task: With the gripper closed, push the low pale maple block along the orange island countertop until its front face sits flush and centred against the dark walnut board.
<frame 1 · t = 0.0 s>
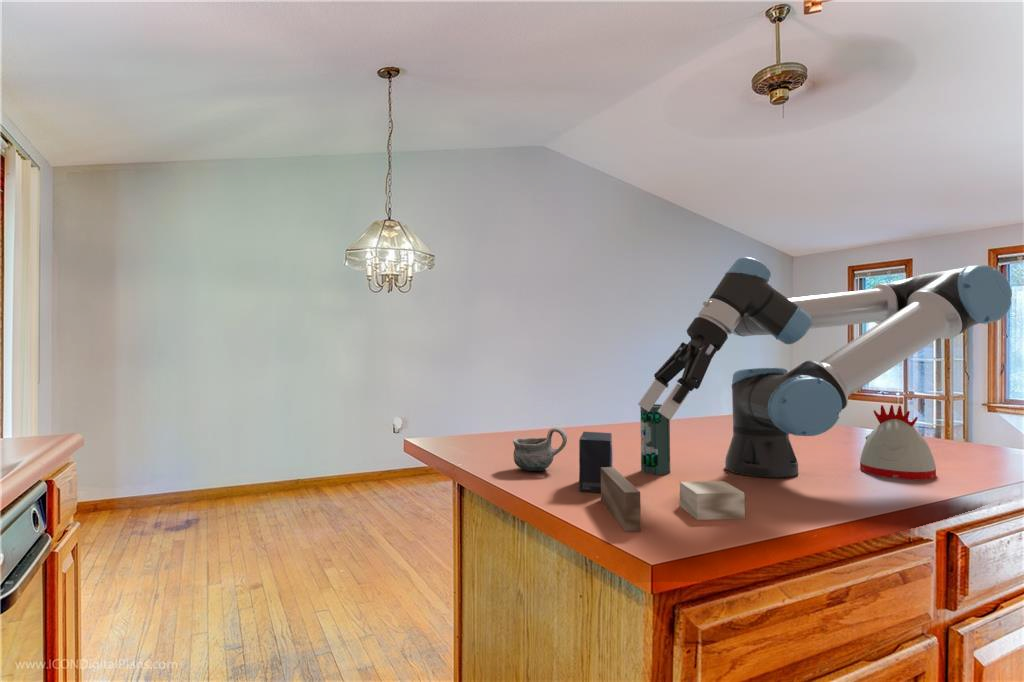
hand: (652, 411, 112), 15 cm above the countertop, tool tilted 35°, fingers open, 13 cm apart
mug: (539, 471, 129), on the countertop
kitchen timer: (896, 473, 124), on the countertop
maple block: (711, 513, 95), on the countertop
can: (655, 472, 126), on the countertop
walnut board: (618, 513, 95), on the countertop
small box: (596, 487, 114), on the countertop
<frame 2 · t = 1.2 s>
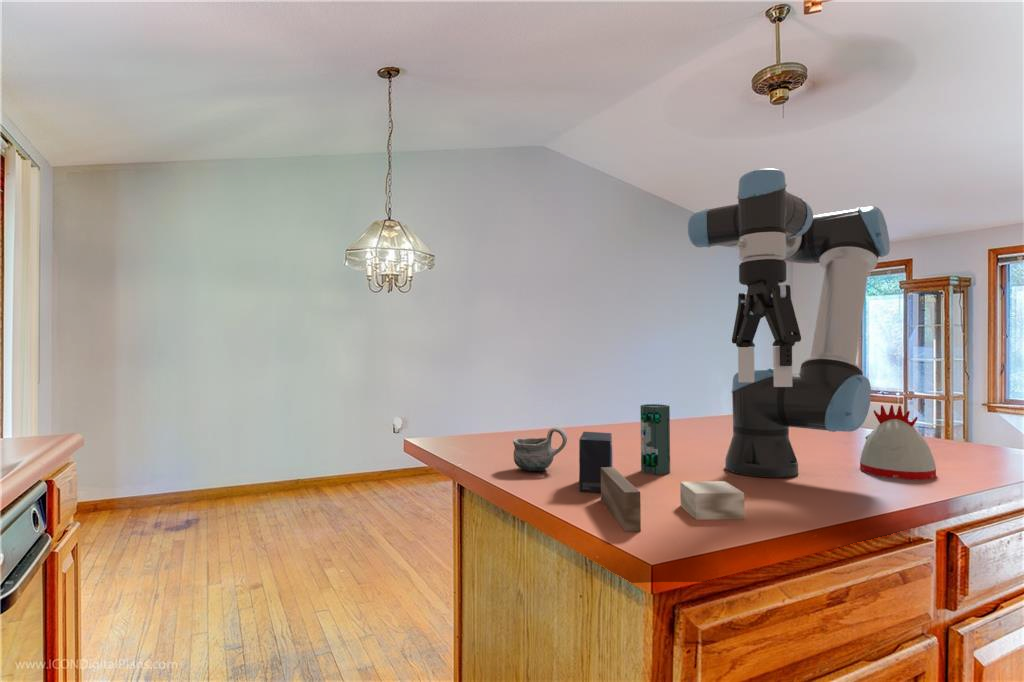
hand: (763, 384, 97), 22 cm above the countertop, tool pointing down, fingers open, 12 cm apart
nothing on the countertop moved.
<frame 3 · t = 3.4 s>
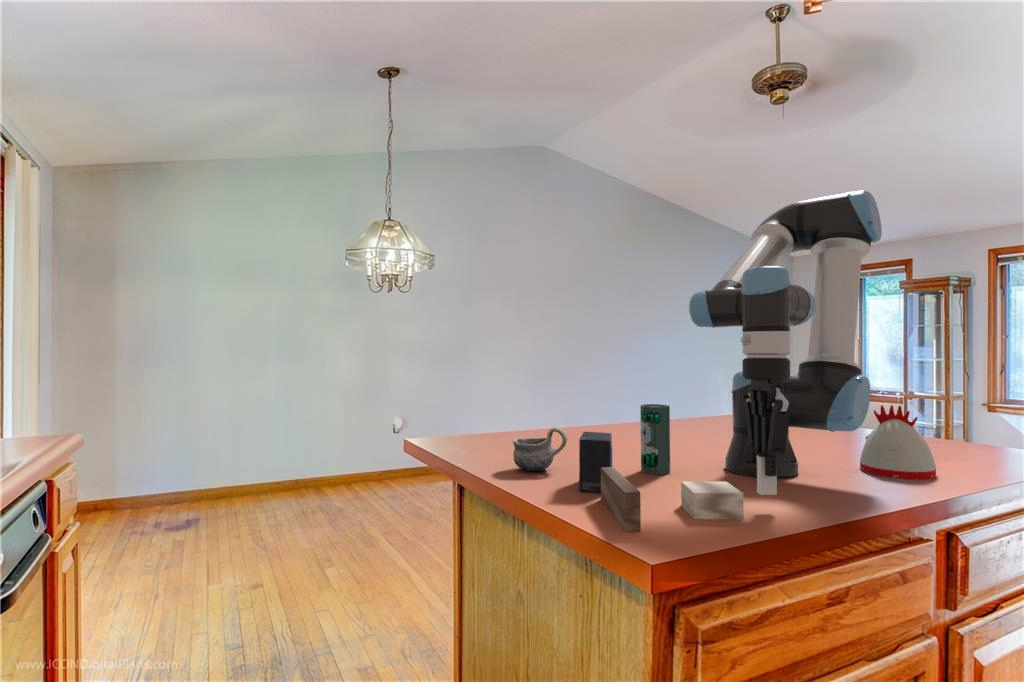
hand: (766, 493, 96), 3 cm above the countertop, tool pointing down, fingers closed
nothing on the countertop moved.
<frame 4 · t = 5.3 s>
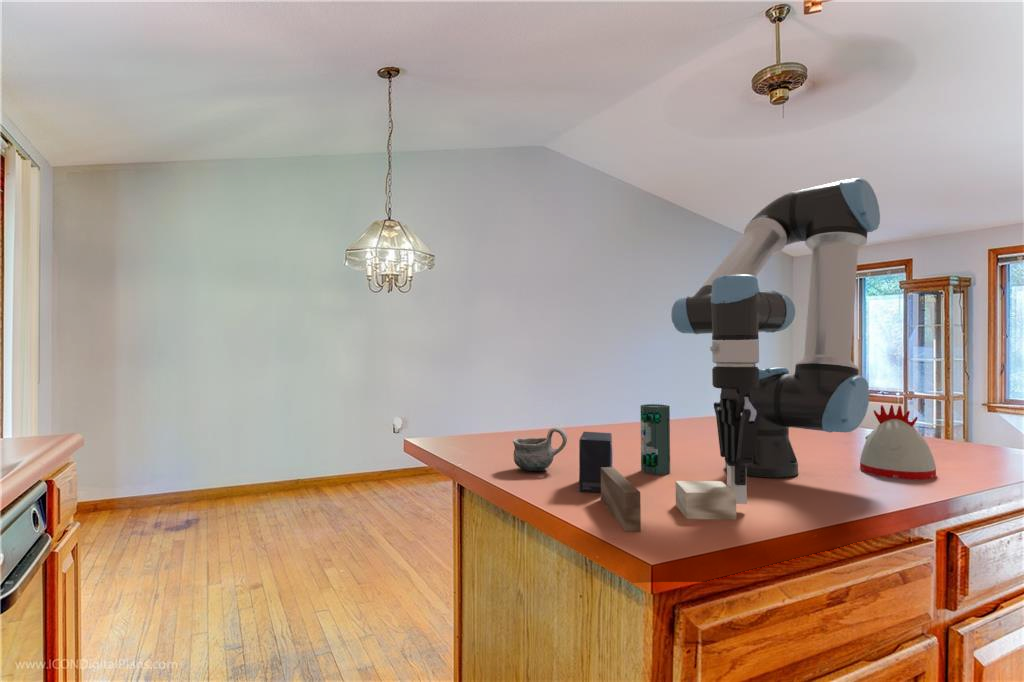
hand: (737, 502, 96), 2 cm above the countertop, tool pointing down, fingers closed
maple block: (704, 512, 96), on the countertop, touching gripper
everything else where it was.
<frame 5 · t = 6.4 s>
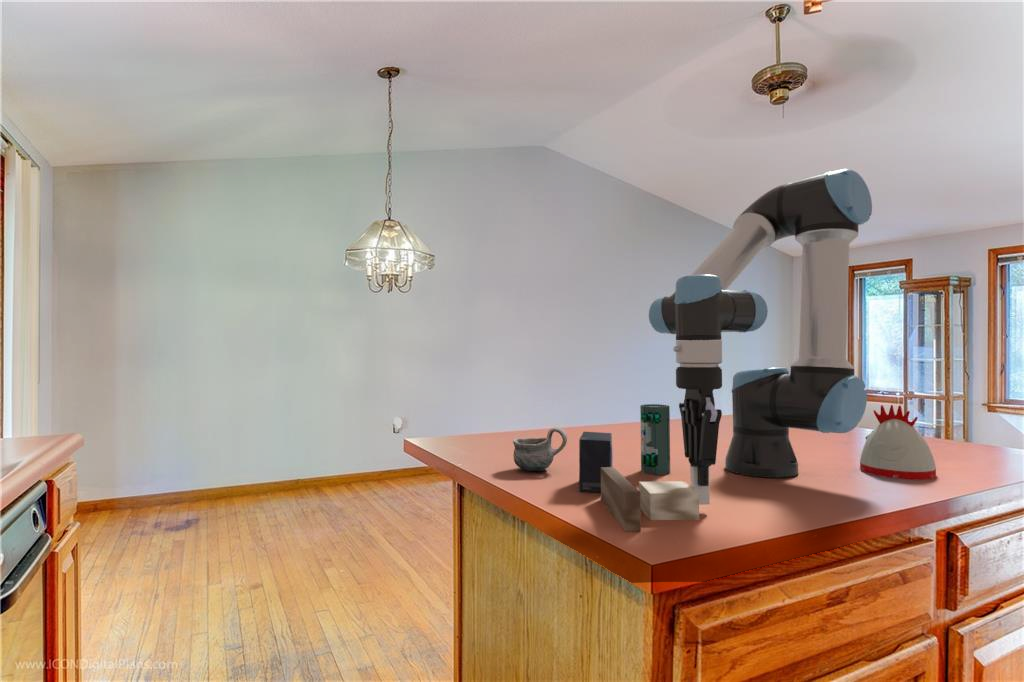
hand: (700, 503, 95), 2 cm above the countertop, tool pointing down, fingers closed
maple block: (667, 513, 95), on the countertop, touching gripper
everything else where it was.
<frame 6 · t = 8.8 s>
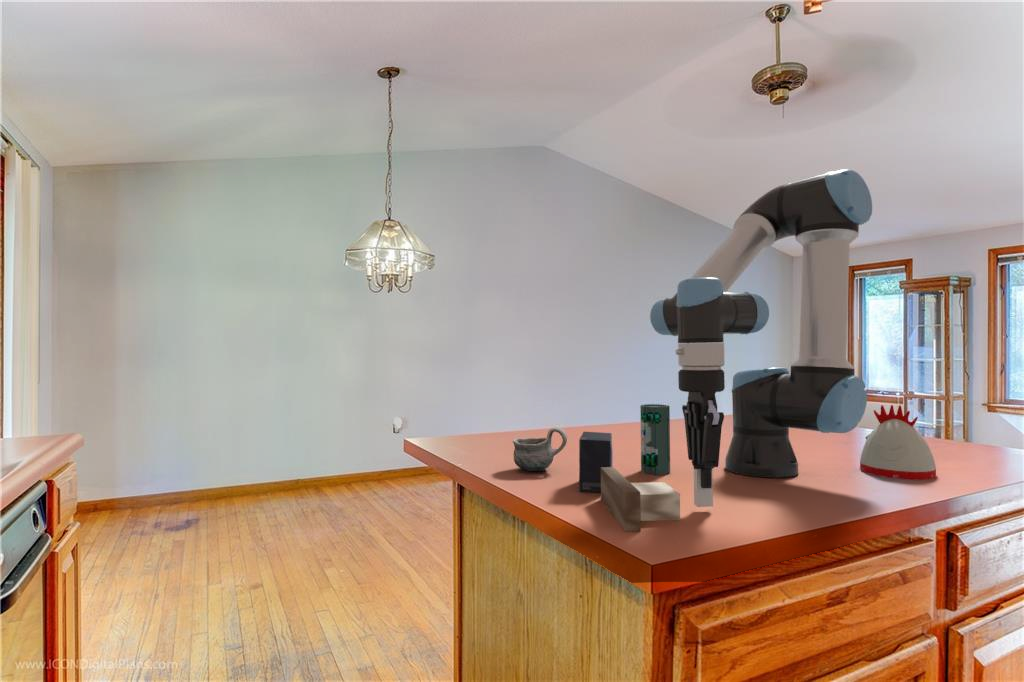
hand: (703, 505, 96), 1 cm above the countertop, tool pointing down, fingers closed
maple block: (649, 514, 95), on the countertop
everything else where it was.
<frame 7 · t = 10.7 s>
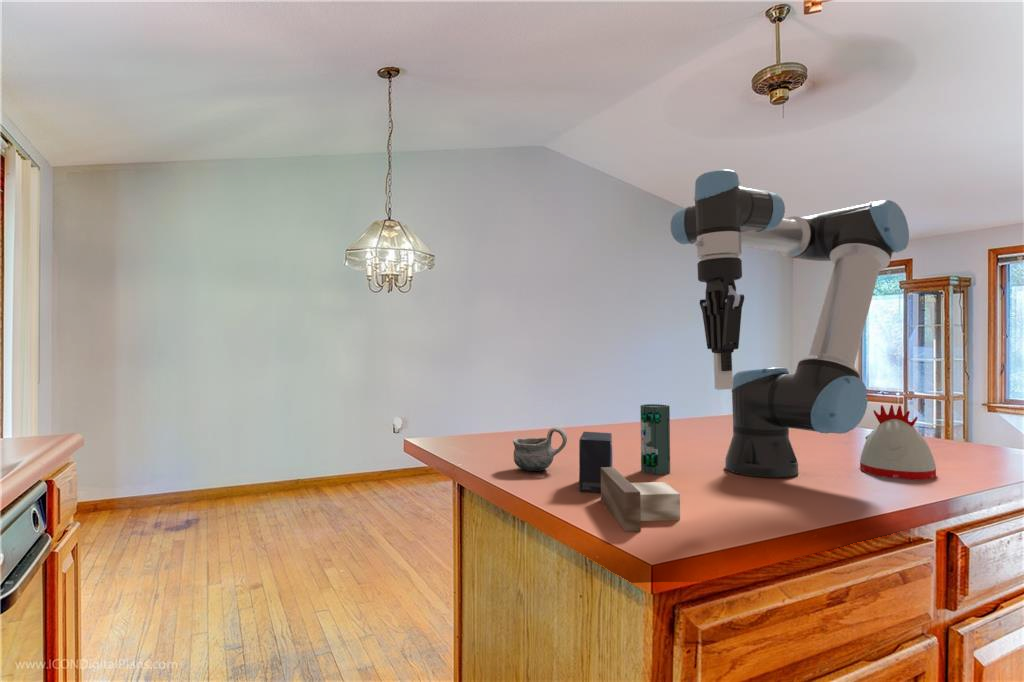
hand: (723, 388, 101), 21 cm above the countertop, tool pointing down, fingers closed
nothing on the countertop moved.
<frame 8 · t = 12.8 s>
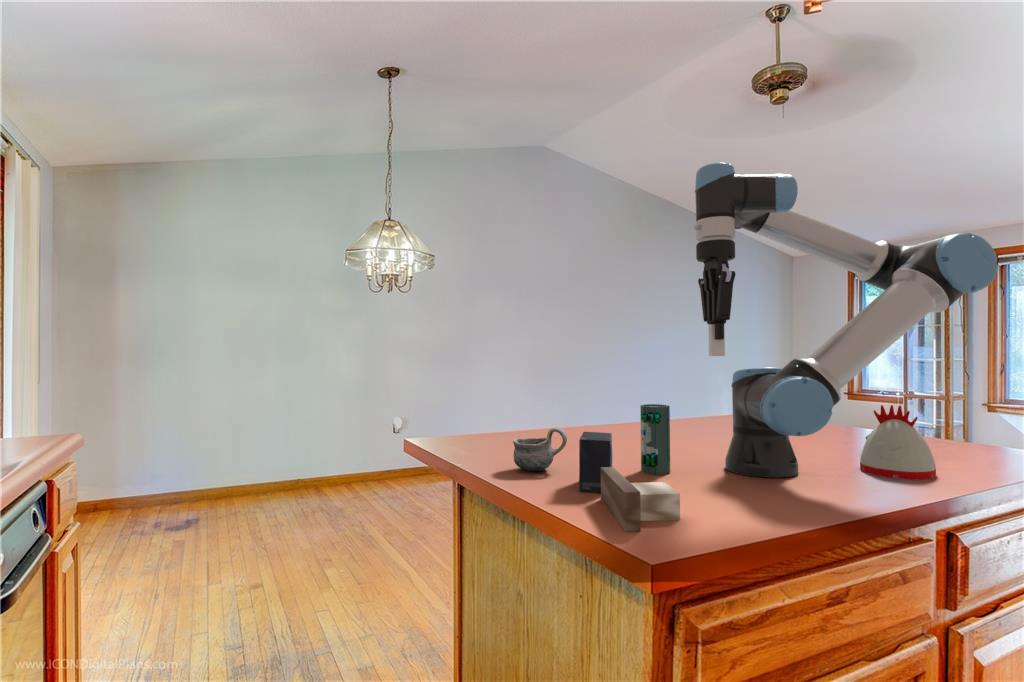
hand: (716, 355, 114), 26 cm above the countertop, tool pointing down, fingers closed
nothing on the countertop moved.
at the end: maple block inside the target area on the countertop beside the walnut board (0.2 cm from its centre), on the countertop; maple block tilted 0° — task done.
